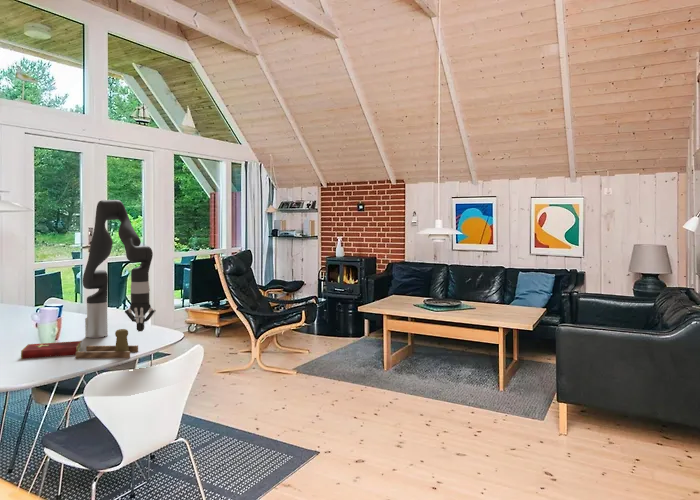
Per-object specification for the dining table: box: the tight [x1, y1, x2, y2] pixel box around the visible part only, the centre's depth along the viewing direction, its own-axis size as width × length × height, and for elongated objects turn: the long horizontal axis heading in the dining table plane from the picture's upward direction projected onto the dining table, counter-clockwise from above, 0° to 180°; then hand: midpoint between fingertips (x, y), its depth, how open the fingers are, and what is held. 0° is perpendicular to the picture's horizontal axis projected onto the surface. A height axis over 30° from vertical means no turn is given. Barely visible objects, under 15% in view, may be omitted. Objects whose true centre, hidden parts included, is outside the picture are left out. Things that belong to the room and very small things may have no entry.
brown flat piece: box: [75, 344, 139, 359], centre depth 220 cm, size 22×11×2 cm, turn 94°
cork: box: [114, 328, 129, 351], centre depth 220 cm, size 6×6×11 cm
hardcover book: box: [20, 340, 83, 360], centre depth 221 cm, size 12×21×4 cm, turn 110°
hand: (140, 331), depth 221 cm, fingers closed
